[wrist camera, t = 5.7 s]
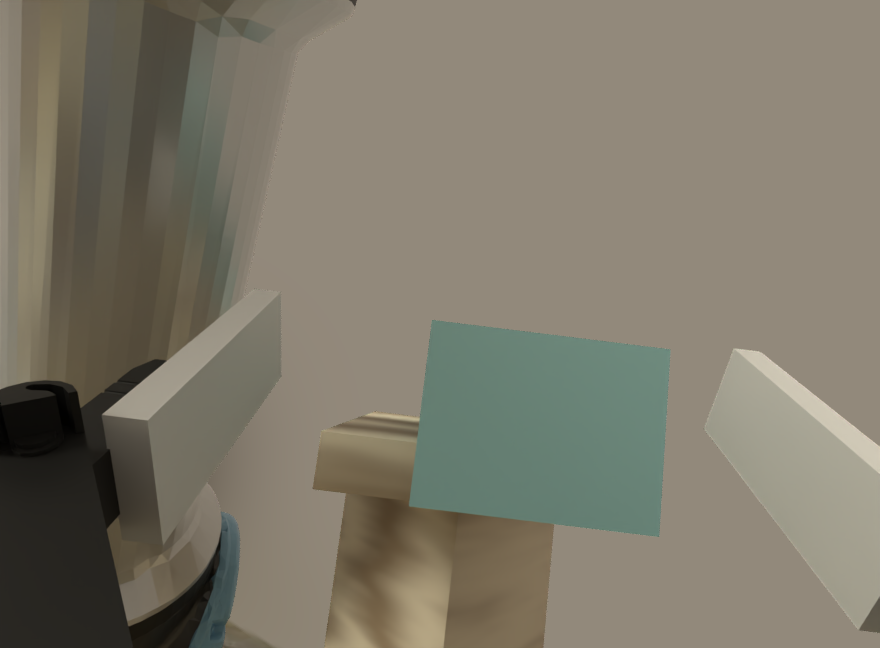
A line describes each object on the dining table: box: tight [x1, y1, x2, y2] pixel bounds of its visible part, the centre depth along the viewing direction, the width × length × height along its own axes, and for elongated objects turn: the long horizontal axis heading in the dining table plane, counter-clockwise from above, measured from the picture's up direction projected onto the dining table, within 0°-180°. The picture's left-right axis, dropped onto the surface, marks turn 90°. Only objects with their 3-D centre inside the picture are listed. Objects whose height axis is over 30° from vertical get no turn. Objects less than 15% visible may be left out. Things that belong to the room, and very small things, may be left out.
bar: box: [409, 320, 670, 537], centre depth 21 cm, size 26×4×3 cm, turn 1°
